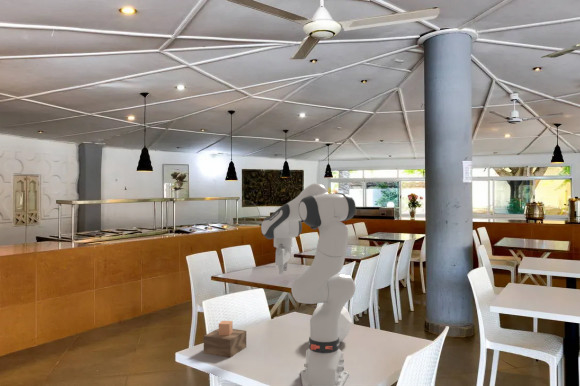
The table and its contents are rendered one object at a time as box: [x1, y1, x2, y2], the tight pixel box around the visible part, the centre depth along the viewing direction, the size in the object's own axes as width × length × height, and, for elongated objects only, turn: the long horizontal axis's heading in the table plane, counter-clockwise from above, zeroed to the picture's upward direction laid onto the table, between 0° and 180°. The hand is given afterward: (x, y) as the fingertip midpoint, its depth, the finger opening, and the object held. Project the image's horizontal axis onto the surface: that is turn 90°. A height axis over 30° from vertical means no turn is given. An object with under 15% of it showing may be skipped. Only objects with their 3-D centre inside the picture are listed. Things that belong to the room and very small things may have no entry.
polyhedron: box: [312, 303, 353, 343], centre depth 207 cm, size 19×20×20 cm
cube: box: [218, 320, 234, 335], centre depth 196 cm, size 5×5×5 cm
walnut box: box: [203, 328, 247, 358], centre depth 196 cm, size 14×14×8 cm
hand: (283, 272), depth 204 cm, fingers open, 8 cm apart
